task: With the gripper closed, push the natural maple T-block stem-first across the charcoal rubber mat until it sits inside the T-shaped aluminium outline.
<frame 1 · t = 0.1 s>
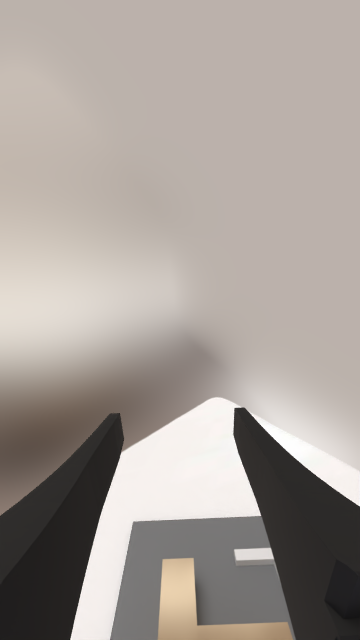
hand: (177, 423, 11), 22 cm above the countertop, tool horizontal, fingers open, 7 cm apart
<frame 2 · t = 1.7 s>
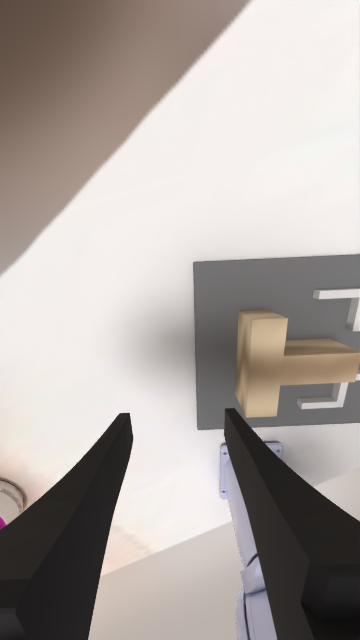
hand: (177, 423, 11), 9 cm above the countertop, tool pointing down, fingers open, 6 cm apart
maple t block: (268, 353, 20), point 1 cm above the countertop, touching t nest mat
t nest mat: (301, 350, 20), on the countertop
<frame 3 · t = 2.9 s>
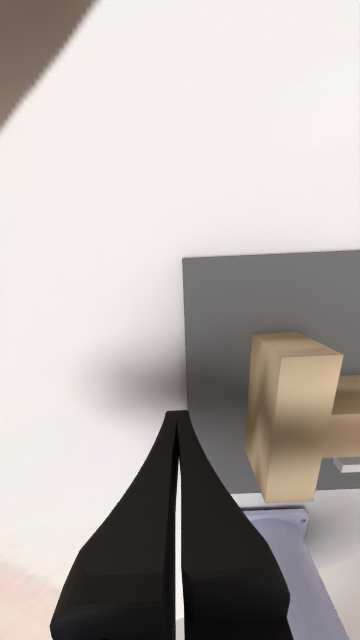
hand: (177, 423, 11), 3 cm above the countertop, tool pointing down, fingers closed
maple t block: (295, 395, 13), point 1 cm above the countertop, touching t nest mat
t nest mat: (341, 387, 14), on the countertop
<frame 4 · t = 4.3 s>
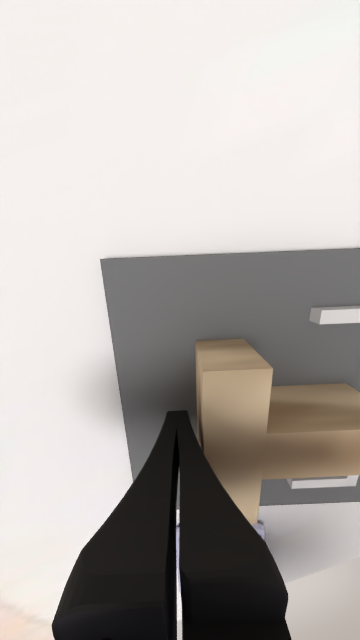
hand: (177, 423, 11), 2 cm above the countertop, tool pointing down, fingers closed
maple t block: (247, 406, 12), point 1 cm above the countertop, touching gripper, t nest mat
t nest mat: (290, 398, 13), on the countertop
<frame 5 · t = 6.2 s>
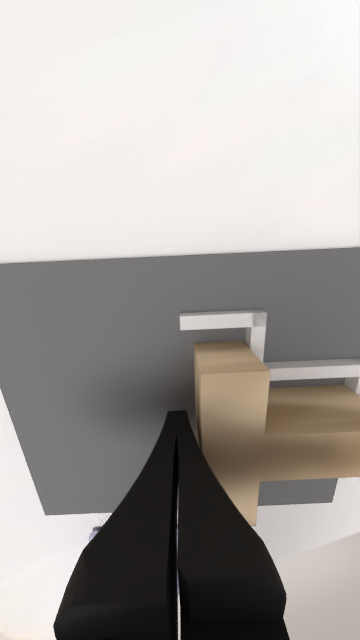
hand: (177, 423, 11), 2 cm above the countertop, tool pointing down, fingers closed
maple t block: (246, 407, 12), point 1 cm above the countertop, touching gripper, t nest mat
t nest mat: (183, 402, 13), on the countertop
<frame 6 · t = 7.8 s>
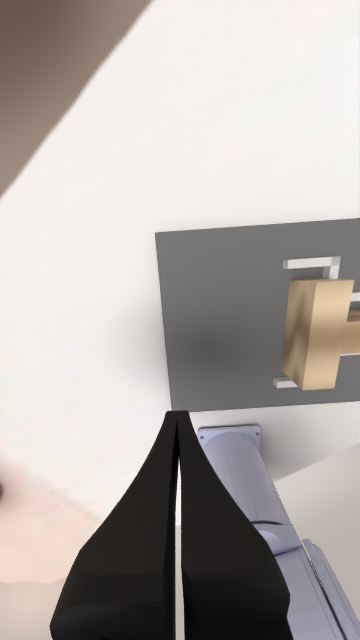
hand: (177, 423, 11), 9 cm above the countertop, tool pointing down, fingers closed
maple t block: (318, 326, 19), point 1 cm above the countertop, touching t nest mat
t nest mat: (274, 326, 19), on the countertop
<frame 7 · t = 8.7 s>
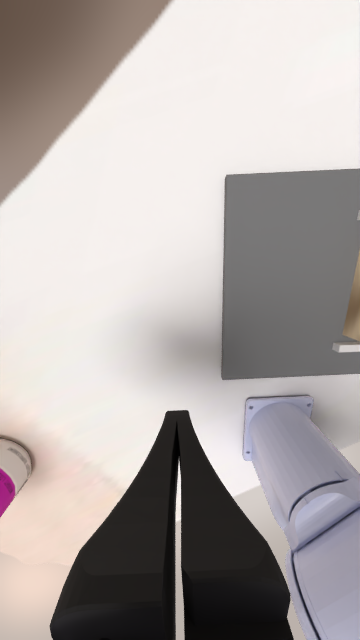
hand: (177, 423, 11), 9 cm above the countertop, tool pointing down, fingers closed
supplement can: (5, 457, 24), on the countertop
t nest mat: (338, 286, 18), on the countertop
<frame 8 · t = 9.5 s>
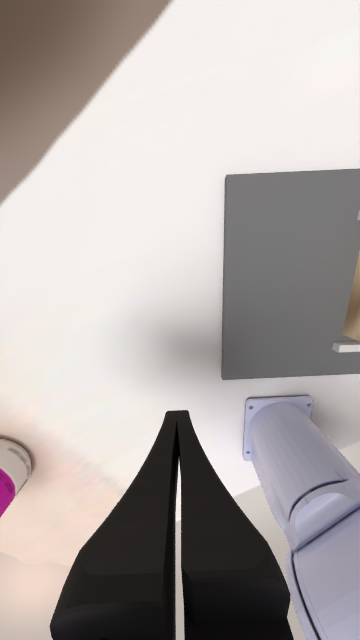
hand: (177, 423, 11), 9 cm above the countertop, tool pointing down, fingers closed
supplement can: (5, 457, 24), on the countertop
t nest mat: (338, 286, 18), on the countertop
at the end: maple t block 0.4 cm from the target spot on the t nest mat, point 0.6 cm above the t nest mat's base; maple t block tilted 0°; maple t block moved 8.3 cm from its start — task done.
